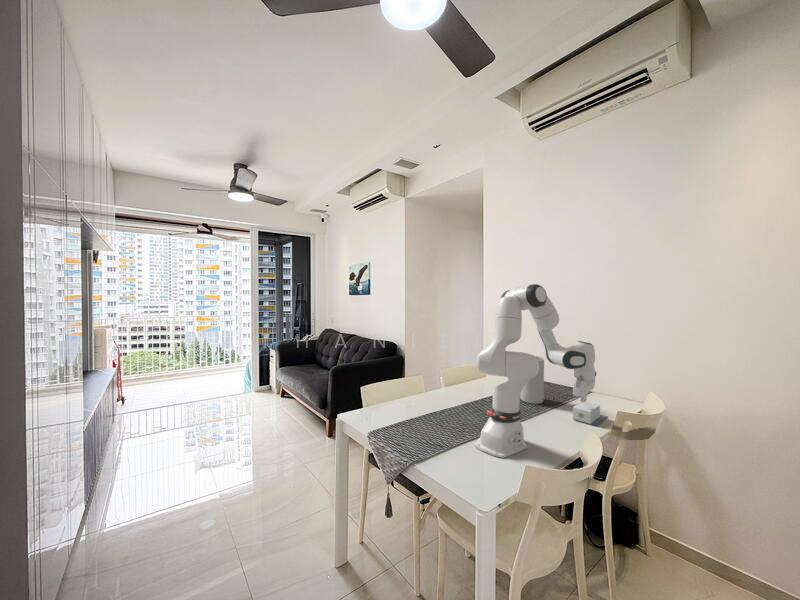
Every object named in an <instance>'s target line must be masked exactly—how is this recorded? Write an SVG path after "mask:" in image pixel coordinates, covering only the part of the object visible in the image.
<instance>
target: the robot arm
mask: <svg viewBox="0 0 800 600" xmlns="http://www.w3.org/2000/svg"><path fill="white" fill-rule="evenodd" d="M526 310H527V311H529V313H530V315H531V317H532V319H533V321H534V323H535V325H536V329H537V332H538V334H539V336H540V339H541V342H542V344H543V346H544V349H545V356H546V360H548V362H549V363H551V364H553V365H557V366H560V367H562V368H565V369H568V370H573V377H574V378H576V379H575V380H574V381H573V385H572V386H573V387H572V395H573V397H575V398H576V397H577V398H580V403H581V402H583V403H584V402H588V401H587V400H588V395H589V393H590V392H591V391H592V390H594V389H595V385H596V377H597V371H595V370H596V368H595V362H596V349H595V347H594V345H593V343H591V342H586V341H582V340H578V341H576V342H575V343H574V344H573V345H571V346H570V347H565V346H562V345H561V344H559V343H558V342H557V339H556V337H555V334H554V331H553V329H554V328H556V327H558V325H559V323H560V316H559V315H560V314H559V313H558V310H557V308H556V307H555V306H554V303H553V302H552V301H551V299H550V298H549V296H548V295H547V292H546V289H545V288H544V287H543V286H542V285H540V284H538V283H536V284H535V283H534V284H533V283H532V284H529V285H524V286H517V287H514V288H512V289H508V290H505V292H503V293H502V295H501V296H500V298H499V300H498V303H497V307H496V312H495V321H494V332H493V336H492V338H491V341H490V343H489V344H488V345H487V346H486V347H485V348H484V349H482V350H481V351H479V352H478V353H477V354H476V358H475V366H476V368H477V370H478V371H479V372H480V373H481V374H485V375H488V376H494V377H495V376H496V377H503V378H507V381H505V382H503V383H499V384H497V385H496V386H495V387H494V388H493V390H492V406H491V409H490V410H487V412H486V416H488V417H489V418H488V419H487V421H486V423H485V424H484V426H483V428H482V429H481V432H480V437H479V438H477V440H476V441H475V442H474V445H473V446H475V448H477V449H478V450H479V451H481V452H483V453H485V454H488V455H491V456H493V457H497V458H501V459H502V458H507V457H510V456H512V455H514V454H517V453H518V452H521V451H523V450H527V448H528V445H527V444H526V442H525V438H524V437H525V434H524V426H523V425H522V424H523V423H522V422H521V417H522V415H521V414H522V413H521V409H520V404H521V403H520V401H521V398H520V395H521V391H522V388H523V387H524V385H525V384H526V383H527V382H528V381H529V380H531V379H532V378H534V377H535V376H536V375H537V374H538V372H539V362H538V360H537V358H536V357H535V356H536V355H534V354H531V353H528V352H527V353H526V352H523V351H522V352H520V351H510V350H506V349H507V348H508V346H510V345H513V344H515V343H517V342H519V341H520V339H521V338H522V322H523V321H522V319H523V317H522V316H523V315H522V311H526Z"/></svg>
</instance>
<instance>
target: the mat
mask: <svg viewBox="0 0 800 600" xmlns="http://www.w3.org/2000/svg"><path fill="white" fill-rule="evenodd" d="M607 418H608V416H607V415H604V414H600V417H599V418H598V419H596V420H595V421H594V422H593V423H591V424H590V425H591V426H595V427H599V426H600V425H601V424H603V422H604V421H605V420H606V419H607ZM576 421H578V420H576ZM578 422H581V421H578ZM581 423H582V422H581ZM583 423H585V422H583ZM585 424H588V423H585ZM588 425H589V424H588Z"/></svg>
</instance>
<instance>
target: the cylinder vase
mask: <svg viewBox="0 0 800 600" xmlns="http://www.w3.org/2000/svg"><path fill="white" fill-rule="evenodd" d="M534 356H535V357H536V358H537V360H538V362H539V372H538V374H537V375H536V376H535V377H534V378H532V379H531V380H529V381H528V382H527V383H526V384H525V385H524V387H523V388H522V391H521V395H520V401H523V402H525V403H527V404H533V405H540V404H542V403H543V402H544V400H545V399H544V395H545V393H544V392H545V391H544V389H545V388H544V387H545V384H544V383H545V358H544V357H541V356H536V355H534Z"/></svg>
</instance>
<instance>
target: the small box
mask: <svg viewBox="0 0 800 600" xmlns="http://www.w3.org/2000/svg"><path fill="white" fill-rule="evenodd" d="M600 410H601V405H600V404H597V403H593V402H589V401H586V402H584V403H583V402H581V401H580V403H577V404H576V405H574V406H573V407H572V420H575V421H577V420H578V422H580V421H581V423H584V422H585V424H587V423H588V425H591V423H593V422H594V421H595V420H596V419H598V418H599V417H600V415H601V414H600Z"/></svg>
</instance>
